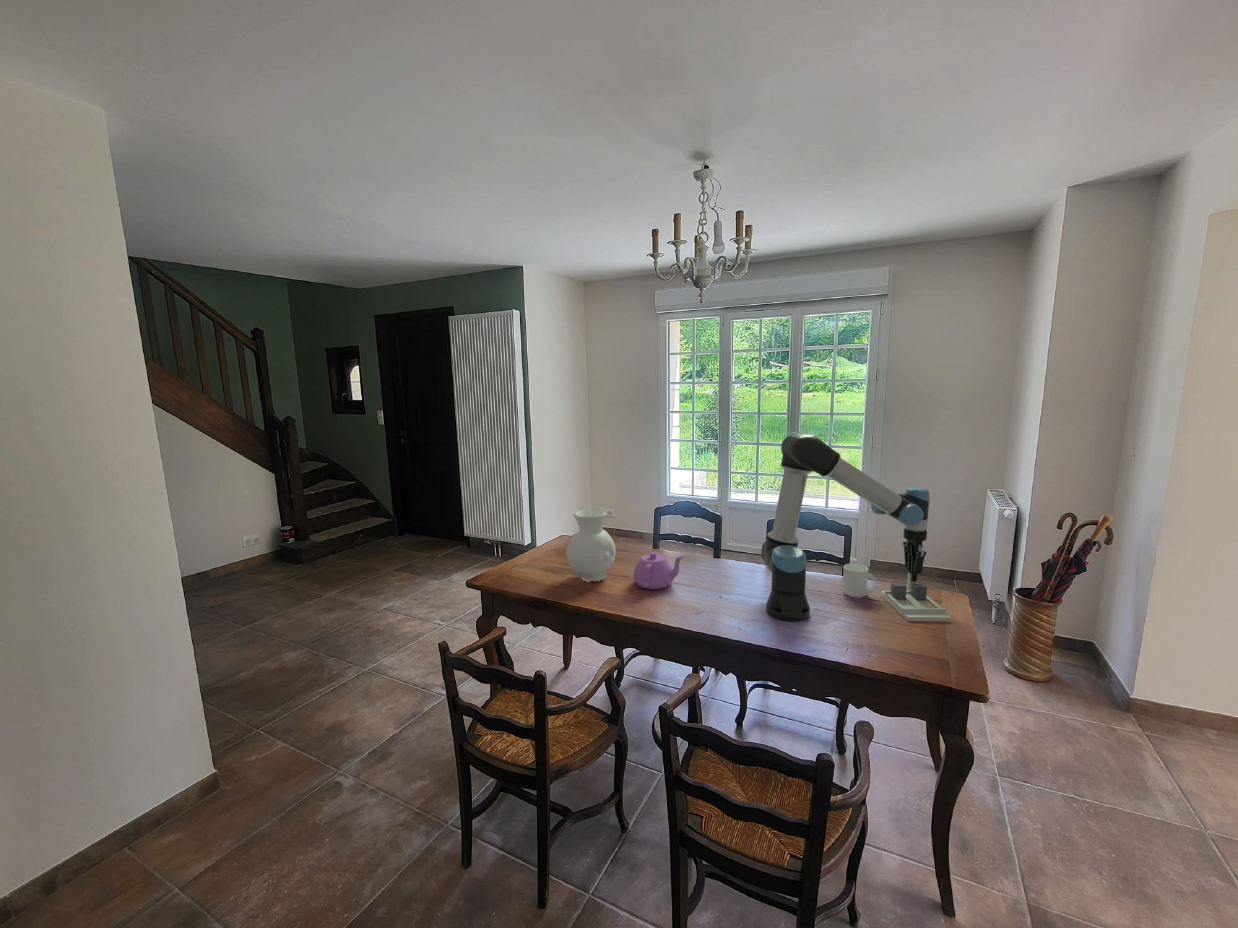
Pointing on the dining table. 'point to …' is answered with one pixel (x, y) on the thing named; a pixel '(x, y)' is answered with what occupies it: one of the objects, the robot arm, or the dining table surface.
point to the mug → (856, 580)
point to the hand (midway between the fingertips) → (911, 588)
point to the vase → (591, 546)
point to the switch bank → (917, 608)
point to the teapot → (655, 571)
